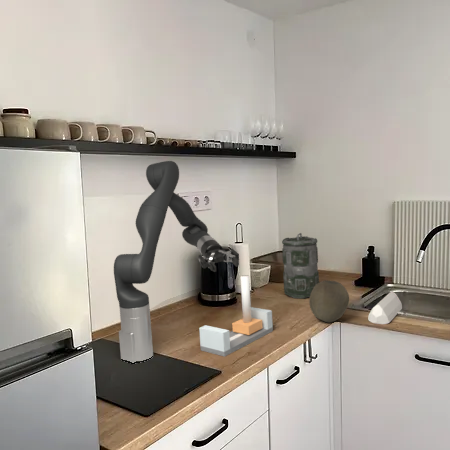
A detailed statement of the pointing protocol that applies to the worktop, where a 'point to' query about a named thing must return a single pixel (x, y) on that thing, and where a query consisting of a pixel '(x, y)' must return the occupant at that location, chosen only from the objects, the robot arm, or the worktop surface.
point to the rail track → (233, 335)
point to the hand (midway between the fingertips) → (226, 267)
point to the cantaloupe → (329, 300)
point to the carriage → (246, 311)
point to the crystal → (385, 309)
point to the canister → (300, 266)
